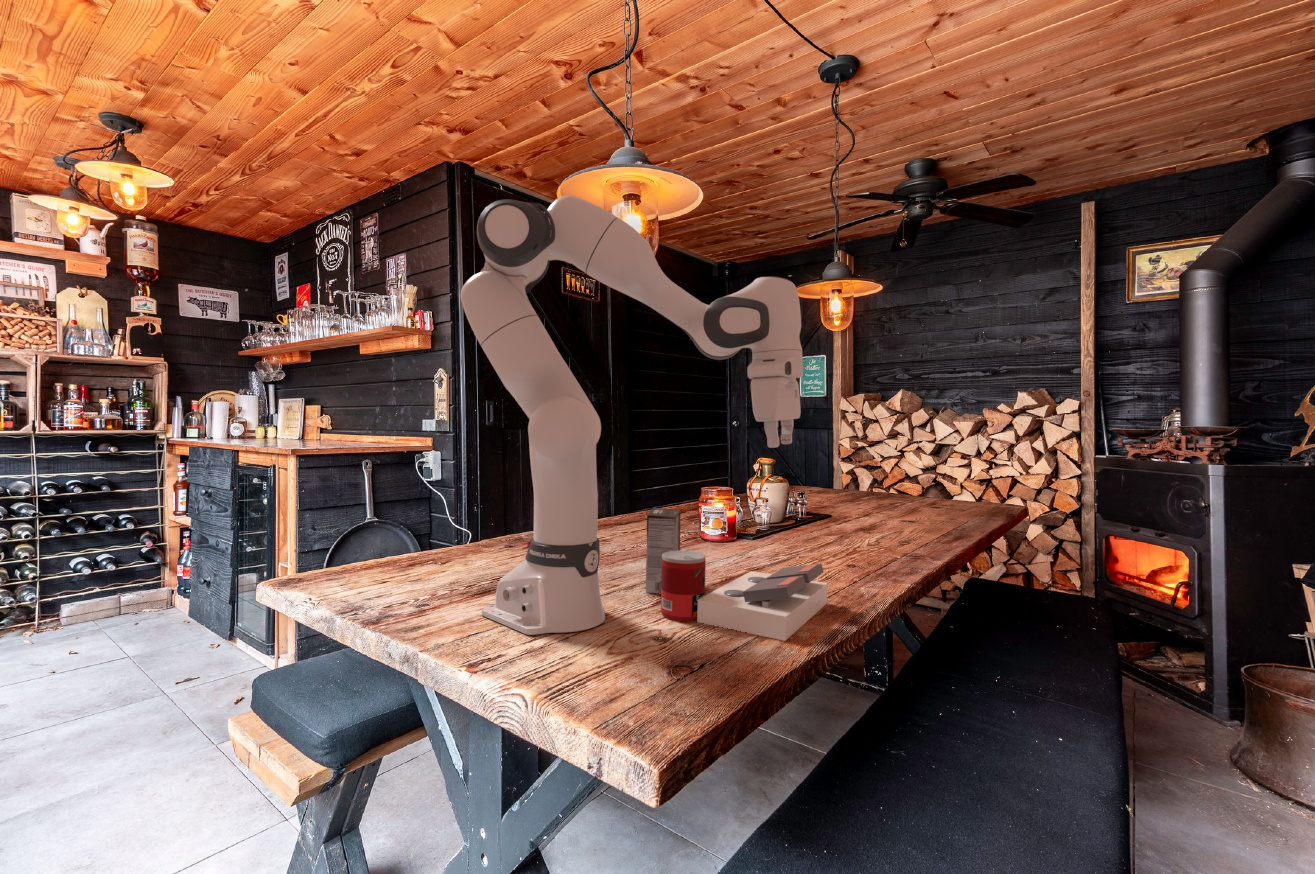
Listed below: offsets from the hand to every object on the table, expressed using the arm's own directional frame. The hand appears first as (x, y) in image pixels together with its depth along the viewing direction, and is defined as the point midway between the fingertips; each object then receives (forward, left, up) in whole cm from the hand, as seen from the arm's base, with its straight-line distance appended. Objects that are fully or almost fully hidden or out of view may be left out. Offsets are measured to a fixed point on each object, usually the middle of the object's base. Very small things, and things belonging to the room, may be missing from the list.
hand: (780, 445), depth 109 cm
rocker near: (+1, -4, -25) cm, 25 cm away
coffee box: (-26, +4, -31) cm, 41 cm away
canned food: (-14, -9, -31) cm, 36 cm away
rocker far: (+1, +7, -25) cm, 26 cm away
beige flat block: (-2, +1, -31) cm, 31 cm away
